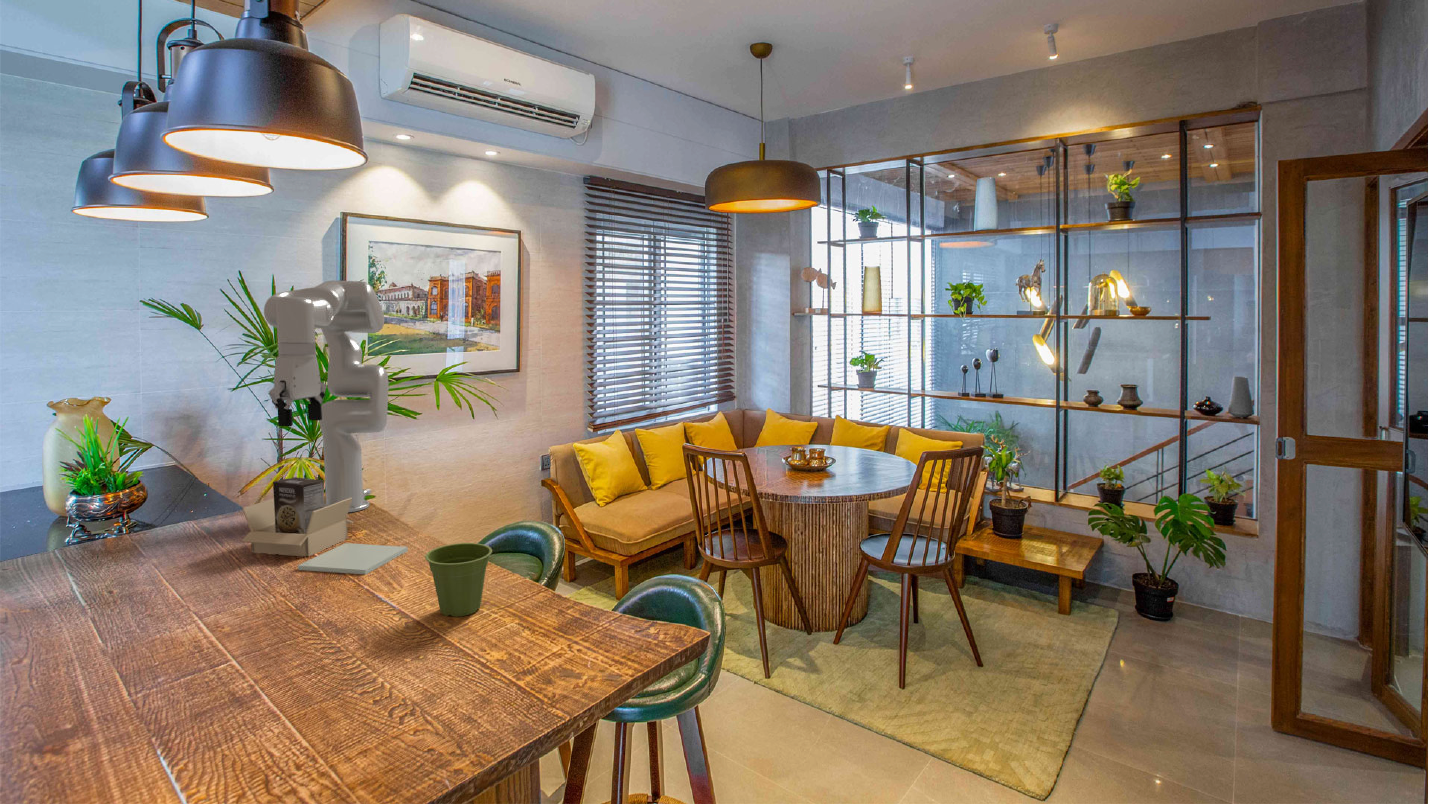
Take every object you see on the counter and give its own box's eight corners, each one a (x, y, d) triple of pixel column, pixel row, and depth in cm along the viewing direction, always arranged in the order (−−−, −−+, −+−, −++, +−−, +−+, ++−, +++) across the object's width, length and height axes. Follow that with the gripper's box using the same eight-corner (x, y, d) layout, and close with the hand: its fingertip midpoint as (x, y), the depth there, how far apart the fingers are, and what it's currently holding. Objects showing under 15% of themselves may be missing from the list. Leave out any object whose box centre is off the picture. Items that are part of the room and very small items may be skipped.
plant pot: (413, 613, 130) (411, 555, 129) (465, 593, 140) (463, 539, 139) (455, 628, 124) (453, 567, 123) (506, 606, 134) (505, 549, 133)
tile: (345, 547, 167) (345, 543, 167) (407, 551, 165) (407, 546, 165) (297, 569, 152) (297, 565, 151) (365, 574, 149) (365, 570, 149)
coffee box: (274, 547, 166) (271, 481, 164) (297, 540, 172) (294, 476, 170) (304, 552, 163) (301, 484, 162) (327, 544, 169) (324, 479, 168)
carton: (295, 532, 178) (293, 491, 177) (361, 536, 176) (359, 494, 175) (235, 556, 160) (232, 510, 158) (307, 561, 157) (305, 514, 156)
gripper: (308, 348, 171) (312, 417, 173) (253, 351, 154) (258, 427, 156) (336, 349, 170) (339, 418, 172) (284, 352, 153) (288, 429, 155)
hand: (300, 422), depth 164 cm, fingers open, 9 cm apart
